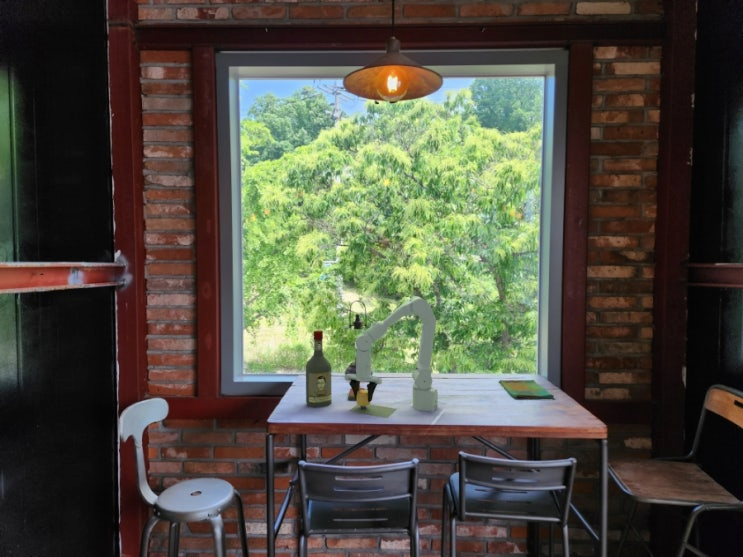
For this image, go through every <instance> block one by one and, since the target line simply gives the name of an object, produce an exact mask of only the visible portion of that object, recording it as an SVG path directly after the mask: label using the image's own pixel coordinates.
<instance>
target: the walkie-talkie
mask: <svg viewBox="0 0 743 557" xmlns="http://www.w3.org/2000/svg"><path fill="white" fill-rule="evenodd" d="M360 390H368V389H367V388H364V387H361V385H360V386H359V391H360ZM347 400H348V401H356V400H355V396H354V393H353V390H352V388H351V387H350V390H349V393H348V396H347Z"/></svg>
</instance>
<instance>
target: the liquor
mask: <svg viewBox="0 0 743 557" xmlns="http://www.w3.org/2000/svg"><path fill="white" fill-rule="evenodd" d="M323 334H324V333H323V330H314V331H313V341H314V342H313V354H312V356H311V357H310V359H309V360H308V361H307V362H306V364H305V402H306V405H307V406H308V407H309V408H315V409H316V408H323V407H329V406H330V405H332V404H333V403H332V365H331V362H329V361H328V359H327V358H326V357H325V355H324V349H323V340H324V335H323Z"/></svg>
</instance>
